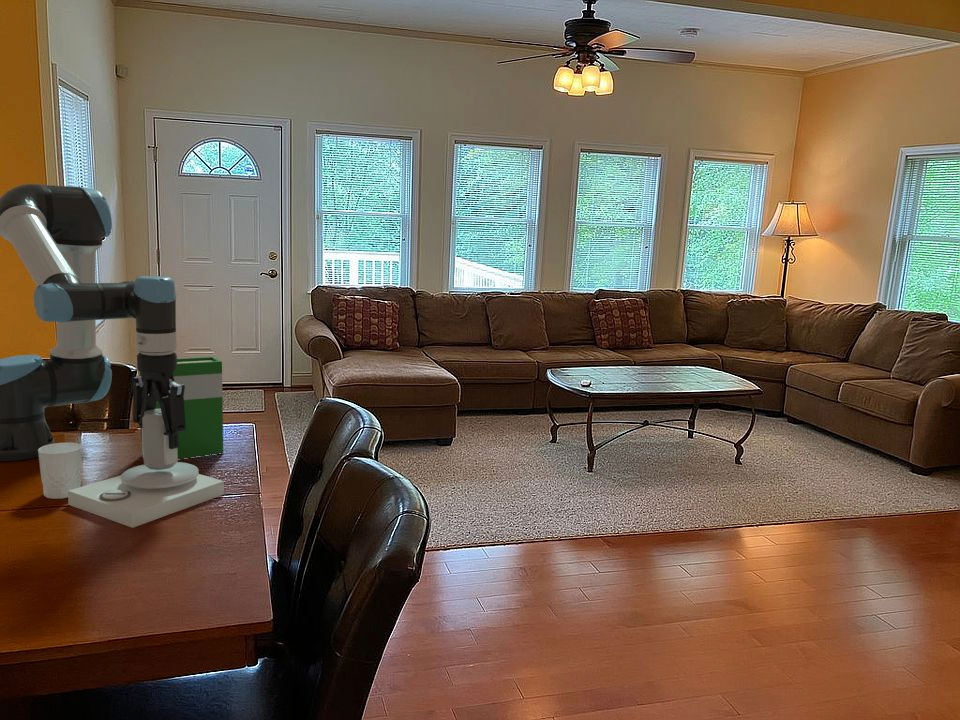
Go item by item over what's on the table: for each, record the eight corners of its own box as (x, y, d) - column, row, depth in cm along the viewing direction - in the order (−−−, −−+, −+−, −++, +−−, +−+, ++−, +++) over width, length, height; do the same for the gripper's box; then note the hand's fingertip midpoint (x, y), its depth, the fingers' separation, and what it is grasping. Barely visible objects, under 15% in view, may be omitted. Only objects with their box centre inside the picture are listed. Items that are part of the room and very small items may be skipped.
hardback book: (147, 464, 173) (144, 365, 169) (142, 455, 180) (139, 360, 175) (223, 454, 183) (222, 361, 179) (215, 446, 189) (214, 356, 185)
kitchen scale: (68, 504, 147) (67, 481, 146) (162, 475, 166) (161, 454, 165) (132, 527, 137) (131, 502, 137) (224, 494, 156) (223, 472, 156)
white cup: (44, 502, 147) (41, 455, 146) (37, 491, 153) (34, 445, 151) (87, 495, 152) (85, 449, 151) (79, 484, 158) (77, 440, 156)
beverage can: (164, 472, 149) (163, 416, 147) (137, 469, 151) (135, 413, 149) (183, 463, 156) (181, 409, 154) (156, 460, 157) (154, 406, 155)
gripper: (110, 348, 150) (114, 455, 154) (172, 360, 141) (175, 473, 145) (142, 344, 157) (146, 447, 161) (204, 355, 148) (205, 464, 152)
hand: (160, 459), depth 153 cm, fingers closed on beverage can, 6 cm apart
